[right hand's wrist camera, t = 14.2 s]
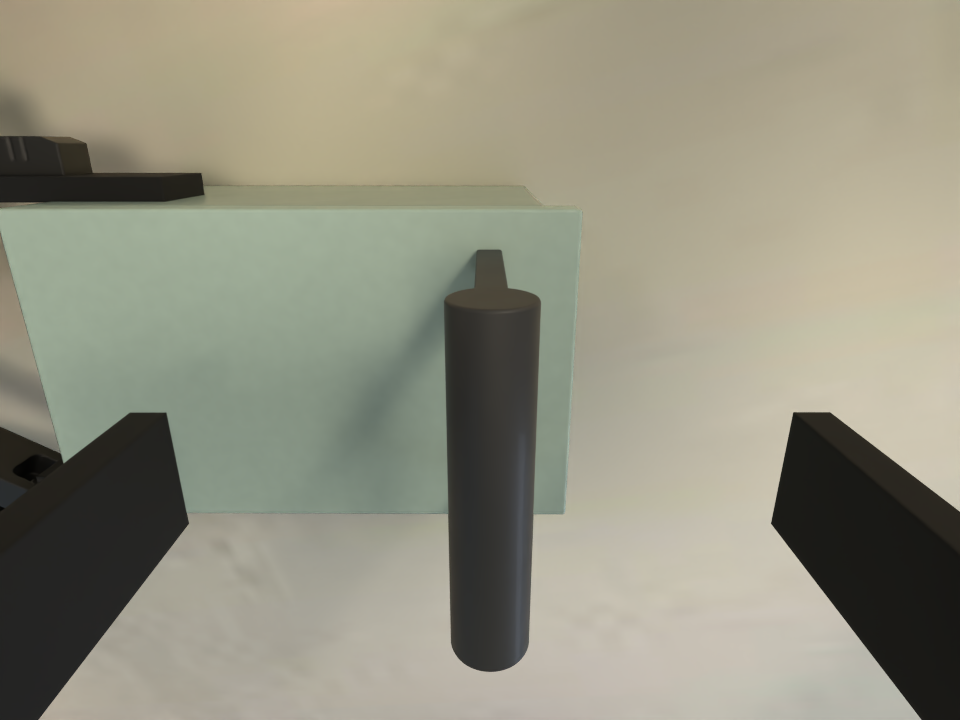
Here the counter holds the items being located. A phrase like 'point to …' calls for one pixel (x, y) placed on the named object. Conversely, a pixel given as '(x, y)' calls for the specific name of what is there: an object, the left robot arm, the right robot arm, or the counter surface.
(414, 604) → the counter surface
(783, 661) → the counter surface
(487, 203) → the chest
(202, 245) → the lid
